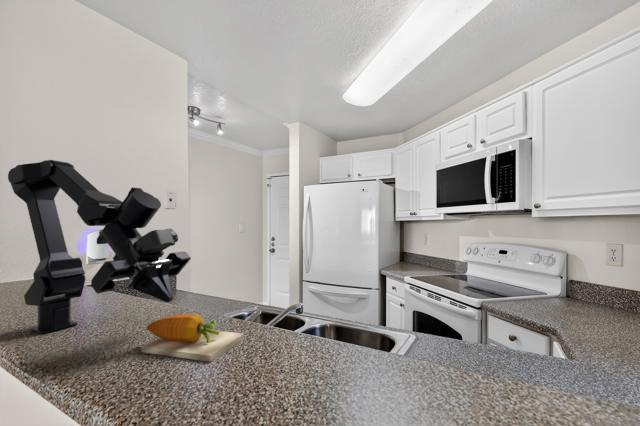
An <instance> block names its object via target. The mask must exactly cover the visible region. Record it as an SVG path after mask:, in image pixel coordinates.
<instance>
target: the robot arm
mask: <svg viewBox="0 0 640 426" xmlns="http://www.w3.org/2000/svg"><path fill="white" fill-rule="evenodd" d="M7 179H8V182H9V184H10V185H11V186H10V187H11V188H12V192H13V193H14V195H16V196H17V197H19V199H21V201H23V202H24V203H25V204H26V207H27V211H28V214H29V215H28V216H29V220H30V222H31V223H30V224H31V229H32V232H33V235H34V240H35V244H36V248H37V254H38V257H39V263H38V264H37V266H36V269H35V270H34V271H33V274H32V275H33V281H32V283H31V284H30V286H29V288H28V290H27V291H26V293H25V294H23V298H24V302H25V305H26V306H34V307H35V306H37V312H36V313H37V315H36V316H37V317H36V318H37V319H36V320H37V321H36V322H37V323H36V324H37V325H35V326H30V331H32V332H36V333H38V334H42V335H43V334H47V333H51V332H55V331H59V330H62V329H66V328H69V327H74V326H77V325H78V322H77V321H73V320H71V319H72V318H71V317H72V313H71V312H72V299H74V298H79V297H80V298H81V297H82V295H83V294H82V293H83V290H84V287H85V284H86V283H85V282H86V276H85V274H86V271H85V269H84V267H83V261H82V259H81V258H80V257H73V256H71V255H70V254H69V252H68V248H67V244H66V240H65V236H64V233H63V232H64V231H63V229H62V228H63V227H62V225H61V220H60V217H59V213H58V209H57V204H56V200H55V199H56V197H57V195H58V193H59V191H60V190H62V192H64V193H65V195H67V196H68V197H69V198H70V199H71V200H72V201H73V202H74V203H75V204H76V205H77V210H76V213H77V214H78V216H79V218H80V219H81V220H82V222H84V224H85V225H87V226H89V227H104V228H103V229H102V230H101V231H99V233H98V236H97V238H96V244H97V245H106V244H107V245H108V246H109V247H110V248H111V250H112V251H113V252H114V256H113V257H112V260H108V261H107V260H106V261H104V263H102V265H101V266H100V268H99V269H98V270H97V271H96V273H95V274H94V276H93V277H92V278H91V281H90V283H91V284H90V286H91V287H92V288H93V290H94V292H95V293H96V294H102V293H107V292H111V291H113V290H114V288H115V285H116V283H115V282H114V280H117V281H118V280H124V279H129V281H130V283H129V284H128V286H127V289H129V290H135V291H137V292H141V293H143V294H146V295H148V296H150V297H154V298H155V299H158V300H160V301H162V302H165V303H170V302H172V301H173V299H174V295H173V291H172V288H171V283H170V278H172V277H176V276H177V275H179V274H180V273H181V271H182V270H183V269H184V268H185V267H186V265H187V264H189V262H190V260H191V256H190V255H189V254H188V253H187V251H179V252H178V251H176V252H169V253H168V255H167V256H166V257H165V259H163V260H160V258H162V257H163V256H164V254H165V252H164V250H166V249H168V248H169V247H173V246H175V244H176V243H177V242H178V240H179V236H178V233H177V232H175V231H174V229H173V228H165V229H154V230H151V231H148V232H147V233H146V234H144V235H143V236H142V234H141V233H140V232H139V231H138V229H144V228H145V227H147V225H148V224H149V223H150V222H151V220H152V219H153V218H154V216H155V214H156V213H157V212H158V211H159V210H160V208H161V207H162V203H161V201H160V199H158V197H155V196H154V195H153V194H150V193H148V192H146V191H144V190H143V189H142V188H139V187H131V189H130V190H129V192H128V193H127V195H126V197H125V198H124V199H123V201H122V200H121V199H118V198H117V197H115V196H113V195H110V194H106V193H103V192H101V191H100V190H99V189H98V188H96V187H95V186H94V185H93V184H92V183H91V182H89V180H87V178H85V177H84V176H83V175H82V174H81V173H80V172H78V171H77V170H76V169H75V166H74V164H71V163H69V162H67V161H60V160H54V159H45V160H42V161H39V162H33V163H32V162H31V163H23V164H18V165H16V166H15V167H13V168H11V169H10V170H9V171H8V174H7Z"/></svg>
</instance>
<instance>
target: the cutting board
mask: <svg viewBox="0 0 640 426" xmlns="http://www.w3.org/2000/svg"><path fill="white" fill-rule="evenodd" d="M218 331H219V335H216V334H212V333H208V332H207V334H208V335H209V337H210V342H209V343H207V339H206V337H205V336H204V335H203V334H202V335H201V337H200V338H199V339H197V340H196V341H194V342H191V343H188V342H176V341H170V340H166V339H162V338H159V337H158V338H157V339H154V340H153V341H151V342H148V343H147V344H144V345H141V353H144V354H145V353H146V354H151V355H152V354H153V355H160V356H166V357H167V356H168V357H172V358H173V357H174V358H179V359H181V358H182V359H189V360H194V361H195V360H196V361H201V362H202V361H203V362H209V363H212V362H214V361H215V360H216V359H217V358H219V357H220V356H222V355H223V354H225V353H226V352H228V351H229V350H230V349H232V348H233V347H235V346H236V345H238V344H239V343H241V342H242V341H243V340H244V339H245V333H241V332H232V331H224V330H223V331H222V330H221V331H220V330H218Z"/></svg>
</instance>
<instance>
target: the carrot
mask: <svg viewBox="0 0 640 426" xmlns="http://www.w3.org/2000/svg"><path fill="white" fill-rule="evenodd" d="M216 325H217V322H216V320H211V321H210V322H206V323H205V322H204V319H203V318H202V317H201V316H200V314H194V313H193V314H192V313H191V314H190V313H189V314H187V313H186V314H176V315H170V316H166V317H162V318H160V319H157V320H154V321H153V322H150V323H148V325H147V326H146V329H147V331H149V332H150V333H151V334H153V335H154V336H156V337H157V338H158V339H159V338H162V339H166V340H170V341H176V342H188V343H191V342H194V341H196V340H197V339H199V338H200V337H201V335H202V334H203V335H204V336H205V337H206V339H207V343H209V342H210V337H209V335H208V334H207V332H208V333H212V334H216V335H219V331H220V330H217V329H214V328H215V326H216Z"/></svg>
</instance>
